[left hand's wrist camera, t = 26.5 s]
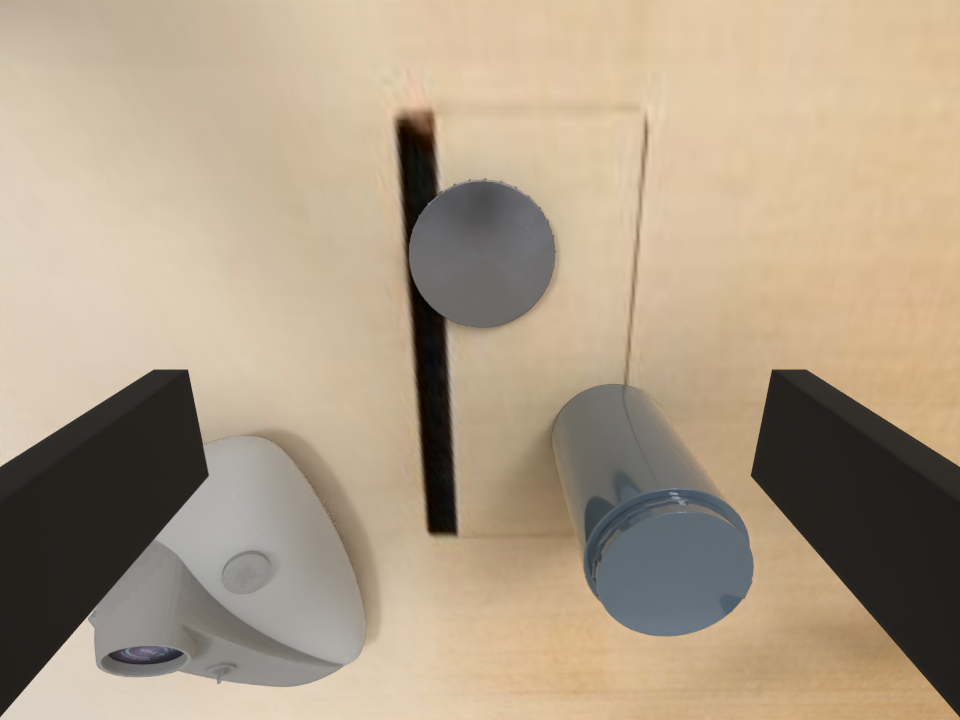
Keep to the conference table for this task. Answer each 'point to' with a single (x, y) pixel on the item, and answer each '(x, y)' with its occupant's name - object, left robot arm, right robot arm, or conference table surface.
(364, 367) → the conference table surface
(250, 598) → the projector
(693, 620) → the jar
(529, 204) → the lid
